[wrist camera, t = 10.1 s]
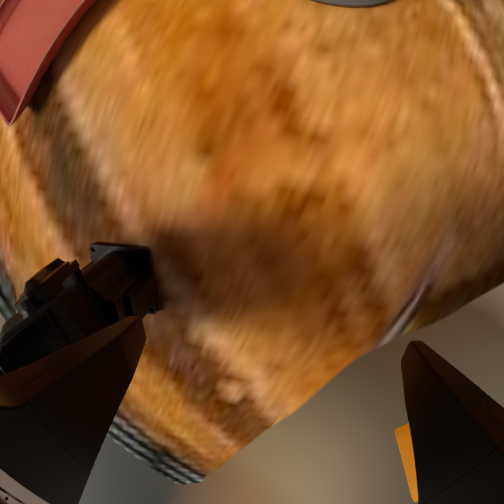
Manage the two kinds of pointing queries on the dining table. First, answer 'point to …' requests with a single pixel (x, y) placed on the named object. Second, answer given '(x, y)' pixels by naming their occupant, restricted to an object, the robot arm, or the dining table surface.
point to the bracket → (407, 457)
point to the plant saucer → (31, 46)
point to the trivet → (351, 2)
